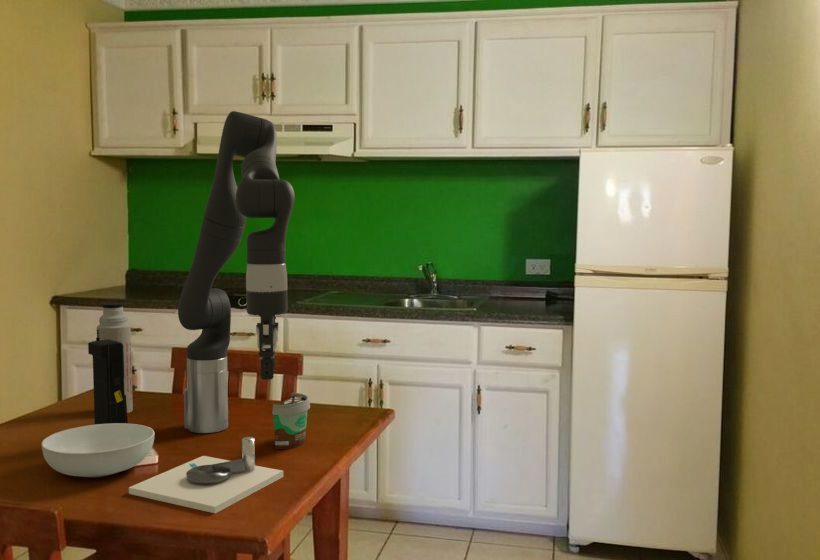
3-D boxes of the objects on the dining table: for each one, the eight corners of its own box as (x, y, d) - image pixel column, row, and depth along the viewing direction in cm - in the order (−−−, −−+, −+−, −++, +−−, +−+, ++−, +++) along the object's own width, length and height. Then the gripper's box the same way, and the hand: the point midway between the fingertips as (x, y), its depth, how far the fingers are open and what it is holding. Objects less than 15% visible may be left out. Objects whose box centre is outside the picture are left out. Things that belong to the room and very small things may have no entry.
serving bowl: (175, 457, 158) (174, 425, 157) (114, 493, 137) (113, 457, 137) (88, 449, 162) (87, 418, 162) (17, 483, 142) (15, 448, 141)
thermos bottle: (137, 407, 197) (134, 301, 194) (125, 415, 189) (122, 305, 186) (107, 407, 197) (104, 301, 194) (94, 415, 189) (90, 305, 186)
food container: (299, 452, 161) (299, 407, 160) (272, 450, 162) (272, 405, 162) (317, 435, 173) (317, 393, 172) (292, 434, 174) (292, 391, 174)
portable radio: (133, 442, 167) (130, 331, 165) (106, 448, 163) (103, 334, 160) (116, 435, 172) (113, 327, 170) (90, 441, 168) (87, 330, 166)
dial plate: (128, 493, 137) (128, 486, 137) (203, 461, 155) (203, 455, 155) (215, 513, 129) (215, 506, 128) (283, 476, 146) (283, 470, 146)
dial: (194, 487, 136) (194, 455, 136) (180, 474, 143) (180, 443, 142) (262, 473, 144) (262, 443, 143) (246, 462, 150) (246, 432, 150)
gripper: (286, 291, 132) (288, 382, 134) (287, 284, 146) (289, 366, 148) (243, 292, 131) (245, 383, 133) (248, 284, 145) (250, 367, 147)
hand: (268, 374), depth 140 cm, fingers open, 8 cm apart
